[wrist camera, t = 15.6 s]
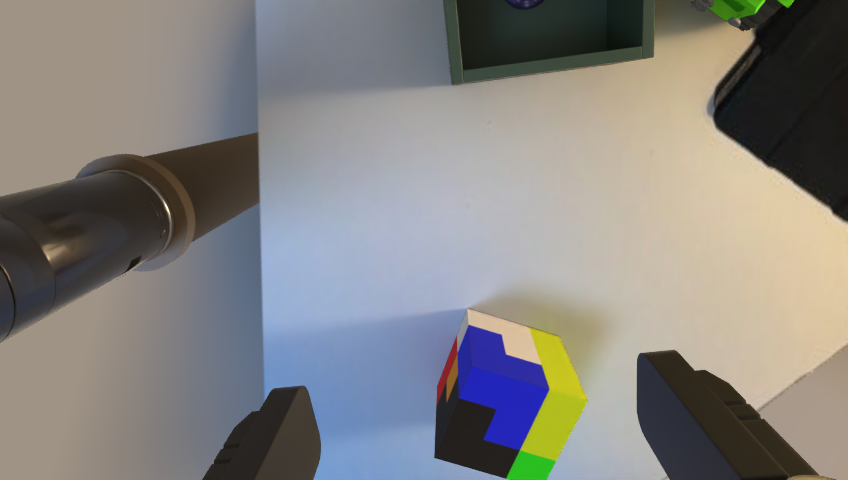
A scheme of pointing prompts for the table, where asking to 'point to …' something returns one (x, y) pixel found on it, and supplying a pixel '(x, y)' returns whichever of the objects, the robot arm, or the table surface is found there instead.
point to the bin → (544, 36)
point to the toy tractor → (742, 10)
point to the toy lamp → (524, 3)
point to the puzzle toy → (506, 399)
